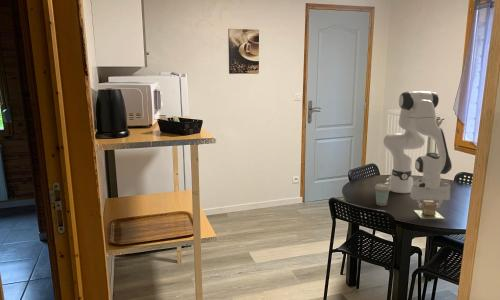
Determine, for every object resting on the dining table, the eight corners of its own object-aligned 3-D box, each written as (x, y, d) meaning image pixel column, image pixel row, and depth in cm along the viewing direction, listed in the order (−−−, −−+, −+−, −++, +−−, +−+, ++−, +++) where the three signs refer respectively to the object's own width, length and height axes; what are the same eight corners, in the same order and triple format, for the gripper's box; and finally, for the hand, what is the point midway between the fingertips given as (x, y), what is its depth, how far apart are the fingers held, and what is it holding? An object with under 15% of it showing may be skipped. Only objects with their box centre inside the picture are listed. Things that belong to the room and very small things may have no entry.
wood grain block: (421, 211, 211) (422, 200, 209) (431, 211, 210) (432, 200, 209) (425, 215, 206) (426, 203, 204) (435, 215, 205) (436, 203, 204)
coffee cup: (390, 207, 222) (391, 187, 219) (375, 206, 223) (376, 186, 221) (387, 202, 230) (388, 183, 227) (373, 201, 231) (374, 182, 229)
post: (413, 211, 215) (414, 199, 213) (435, 211, 214) (436, 199, 212) (421, 219, 203) (422, 206, 201) (444, 219, 202) (445, 206, 201)
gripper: (448, 181, 207) (445, 205, 210) (410, 181, 208) (408, 204, 211) (453, 184, 201) (451, 209, 204) (414, 184, 202) (412, 208, 205)
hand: (429, 206), depth 207 cm, fingers open, 8 cm apart
